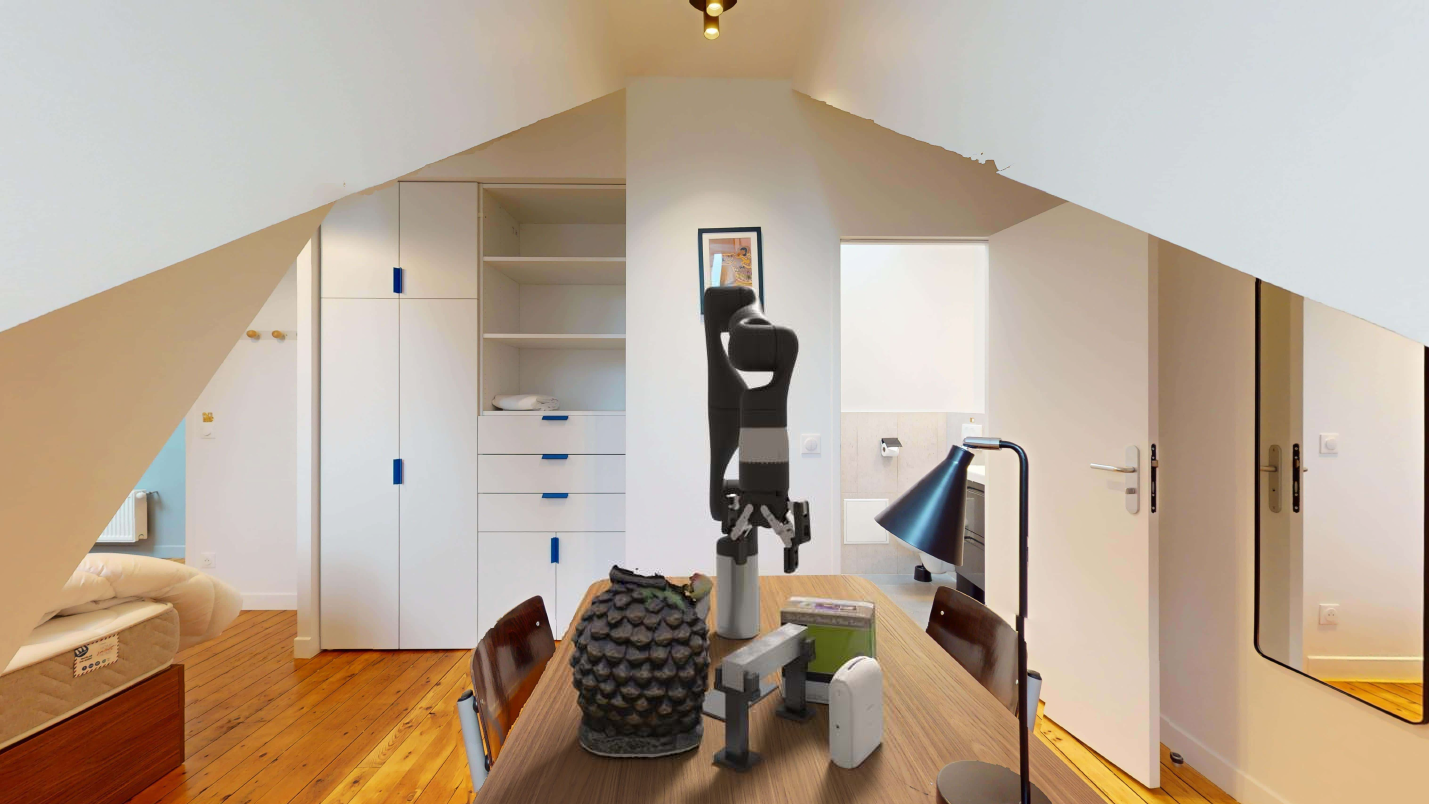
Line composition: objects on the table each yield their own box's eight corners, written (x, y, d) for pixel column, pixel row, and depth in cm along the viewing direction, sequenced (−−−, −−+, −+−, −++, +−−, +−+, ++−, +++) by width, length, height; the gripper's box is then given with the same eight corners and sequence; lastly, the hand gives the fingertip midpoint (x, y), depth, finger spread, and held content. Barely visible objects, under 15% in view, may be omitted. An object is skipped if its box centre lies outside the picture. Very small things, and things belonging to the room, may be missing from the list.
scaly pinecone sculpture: (712, 712, 92) (712, 553, 93) (714, 768, 77) (714, 578, 78) (580, 714, 92) (581, 554, 93) (556, 771, 77) (557, 579, 78)
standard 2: (784, 703, 96) (783, 628, 96) (820, 714, 92) (819, 637, 92) (771, 712, 92) (771, 635, 93) (807, 725, 88) (807, 644, 89)
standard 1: (726, 746, 83) (726, 660, 83) (765, 762, 79) (764, 671, 79) (709, 759, 80) (709, 669, 80) (748, 776, 76) (748, 682, 76)
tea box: (877, 686, 102) (876, 600, 102) (873, 713, 92) (872, 618, 93) (792, 674, 107) (791, 592, 107) (780, 699, 97) (779, 609, 98)
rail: (788, 644, 94) (788, 622, 94) (808, 649, 92) (807, 627, 92) (722, 684, 80) (722, 658, 80) (743, 691, 78) (743, 665, 78)
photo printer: (854, 774, 76) (853, 677, 77) (825, 761, 79) (824, 668, 79) (887, 741, 84) (886, 653, 85) (859, 731, 87) (858, 646, 87)
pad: (740, 674, 106) (740, 672, 106) (778, 686, 101) (778, 684, 101) (687, 706, 94) (687, 704, 94) (727, 722, 89) (727, 719, 89)
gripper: (818, 458, 86) (819, 570, 85) (739, 455, 94) (740, 557, 94) (792, 461, 80) (793, 581, 79) (710, 458, 89) (711, 566, 88)
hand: (764, 568), depth 86 cm, fingers open, 8 cm apart
